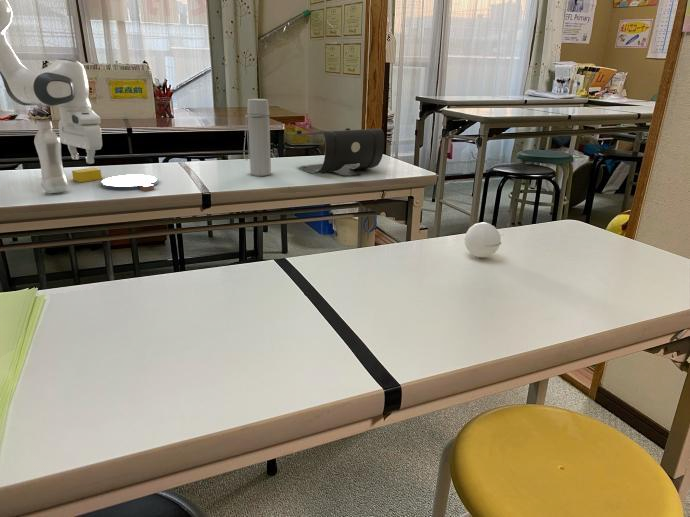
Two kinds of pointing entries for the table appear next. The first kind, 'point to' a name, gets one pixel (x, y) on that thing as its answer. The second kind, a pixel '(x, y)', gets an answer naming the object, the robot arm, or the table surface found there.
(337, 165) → the laptop stand
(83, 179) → the sponge
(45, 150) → the plastic bottle
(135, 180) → the plate
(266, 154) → the water bottle
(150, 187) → the crust
